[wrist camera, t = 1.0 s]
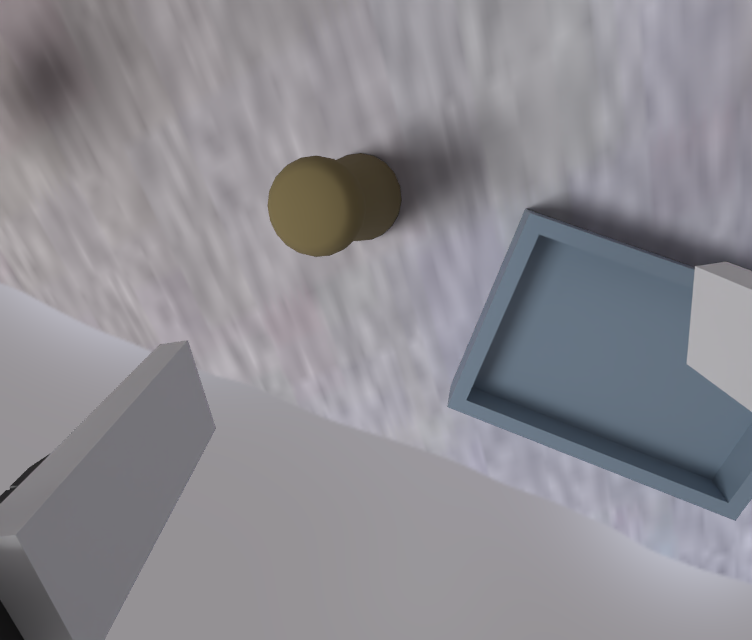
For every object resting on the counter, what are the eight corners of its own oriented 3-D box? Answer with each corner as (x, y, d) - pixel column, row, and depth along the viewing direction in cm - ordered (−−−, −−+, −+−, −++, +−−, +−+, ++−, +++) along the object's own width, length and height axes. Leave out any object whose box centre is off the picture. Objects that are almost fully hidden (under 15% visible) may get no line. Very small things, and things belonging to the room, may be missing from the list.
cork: (410, 229, 34) (379, 254, 24) (332, 249, 36) (271, 281, 26) (388, 141, 33) (345, 128, 23) (308, 167, 35) (233, 166, 24)
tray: (832, 315, 30) (874, 332, 27) (712, 488, 35) (735, 520, 32) (525, 208, 32) (530, 212, 29) (450, 386, 37) (447, 406, 34)
